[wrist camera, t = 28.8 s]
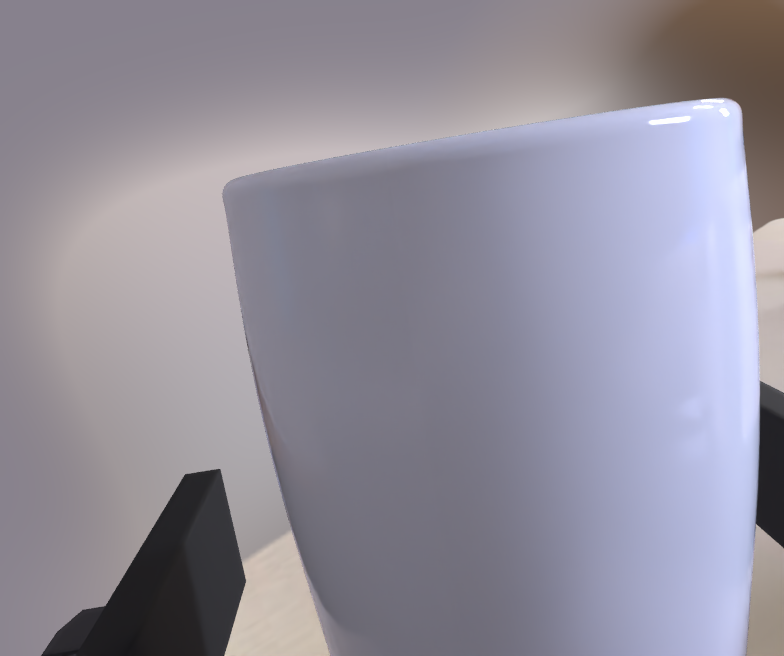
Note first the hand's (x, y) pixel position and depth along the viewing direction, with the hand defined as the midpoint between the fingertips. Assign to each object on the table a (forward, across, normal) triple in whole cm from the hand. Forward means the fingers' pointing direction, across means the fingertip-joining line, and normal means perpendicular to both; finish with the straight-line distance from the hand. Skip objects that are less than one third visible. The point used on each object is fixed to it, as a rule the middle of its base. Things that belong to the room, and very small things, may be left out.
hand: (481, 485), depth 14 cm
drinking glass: (-4, 0, -8) cm, 9 cm away
